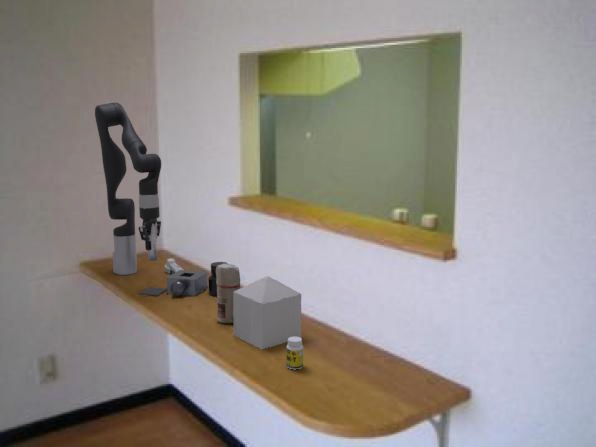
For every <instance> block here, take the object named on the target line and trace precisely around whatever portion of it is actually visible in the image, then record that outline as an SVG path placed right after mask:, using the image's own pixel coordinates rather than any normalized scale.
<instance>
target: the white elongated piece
mask: <svg viewBox="0 0 596 447" xmlns="http://www.w3.org/2000/svg"><path fill="white" fill-rule="evenodd" d="M164 269H165V273H166V274H170V275H172V274H174V273H176V272H177V271H179V270H184V269H183V268H182V267H181V266H180V265H178V263H176V260H175V258H168V259H166V264H164Z"/></svg>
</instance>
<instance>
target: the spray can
mask: <svg viewBox="0 0 596 447" xmlns="http://www.w3.org/2000/svg"><path fill="white" fill-rule="evenodd" d="M240 273H241V272H240V269H239V267H238V266H236V265H235V264H231V263H230V264H229V263H228V264H221V265H218V266H217V267H216V276H217V281H216V284H217V296H216V298H217V299H216V302H217V319H216V321H217V322H218V323H222V324H234V316H233V307H234V306H233V292H234V291H236V290H238V289H240V288H241V275H240Z"/></svg>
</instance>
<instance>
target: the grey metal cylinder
mask: <svg viewBox="0 0 596 447" xmlns="http://www.w3.org/2000/svg"><path fill="white" fill-rule="evenodd" d="M147 233H150V232H147ZM148 238H149V235H148ZM151 248H152V249H151V250H150V251H149V250H147V253H148V254H147V255H148V261H149V262H154V261H158V249H157V248H158V247H157V239H156V231H155V225H154V227H153V234H152V235H151Z"/></svg>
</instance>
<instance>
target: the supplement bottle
mask: <svg viewBox="0 0 596 447" xmlns="http://www.w3.org/2000/svg"><path fill="white" fill-rule="evenodd" d="M285 349H286V350H285V351H286V352H285V353H286V355H285V356H286V358H285V359H286V362H285V363H286V368H287V369H288V368H289V369H288V370H291V369H293V370H292V371H297V370H296V369H299V370H302V368H303V367H304V346H303V338H302V337H289V338H288V342H287V345H286V348H285Z"/></svg>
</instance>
